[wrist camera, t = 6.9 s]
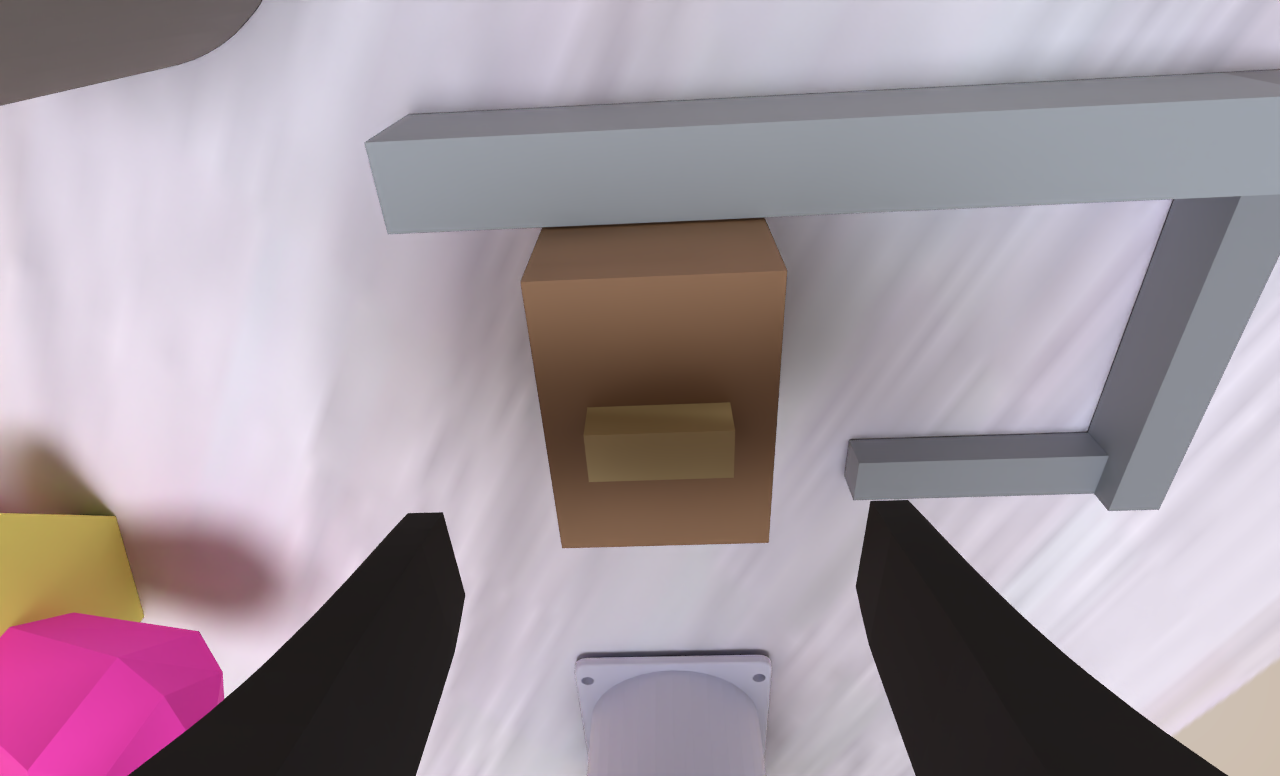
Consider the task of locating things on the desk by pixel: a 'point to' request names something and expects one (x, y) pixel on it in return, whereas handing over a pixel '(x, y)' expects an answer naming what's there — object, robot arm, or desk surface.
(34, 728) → the toy
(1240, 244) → the grey j-shaped hook
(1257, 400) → the desk surface
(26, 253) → the desk surface
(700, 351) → the cardboard box
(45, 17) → the coffee mug
